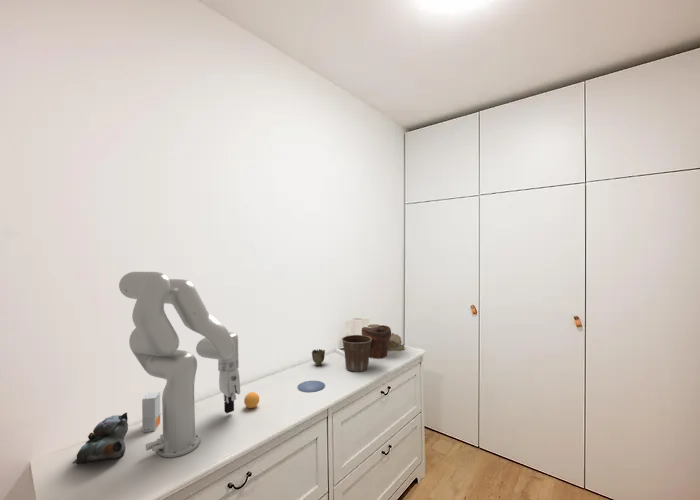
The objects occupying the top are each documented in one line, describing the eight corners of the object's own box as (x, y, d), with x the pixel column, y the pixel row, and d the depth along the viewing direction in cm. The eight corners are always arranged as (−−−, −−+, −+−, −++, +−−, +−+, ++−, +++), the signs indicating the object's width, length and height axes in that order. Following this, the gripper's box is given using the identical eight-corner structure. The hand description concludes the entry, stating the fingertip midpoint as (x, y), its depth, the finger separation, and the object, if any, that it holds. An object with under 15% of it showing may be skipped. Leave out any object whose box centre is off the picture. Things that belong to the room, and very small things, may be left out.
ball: (248, 412, 133) (247, 397, 133) (241, 407, 138) (241, 392, 138) (261, 407, 137) (261, 392, 137) (255, 402, 142) (255, 388, 142)
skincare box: (155, 431, 120) (154, 398, 120) (142, 432, 119) (141, 399, 119) (161, 422, 126) (160, 391, 126) (148, 424, 125) (148, 392, 125)
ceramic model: (381, 350, 213) (380, 334, 213) (384, 345, 223) (383, 330, 223) (403, 351, 209) (403, 335, 209) (405, 346, 220) (404, 331, 220)
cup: (323, 367, 182) (322, 353, 182) (310, 367, 184) (309, 352, 184) (326, 363, 190) (326, 349, 190) (314, 362, 191) (314, 348, 191)
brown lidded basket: (396, 351, 208) (395, 323, 208) (386, 362, 190) (385, 330, 190) (369, 349, 215) (368, 321, 215) (357, 358, 197) (356, 328, 197)
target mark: (307, 394, 148) (307, 394, 148) (292, 386, 158) (292, 385, 158) (330, 386, 157) (330, 386, 157) (314, 378, 167) (314, 378, 167)
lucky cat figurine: (64, 464, 102) (80, 414, 109) (107, 461, 111) (120, 414, 118) (87, 464, 95) (103, 410, 102) (131, 461, 104) (142, 411, 111)
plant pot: (378, 369, 178) (377, 339, 178) (353, 376, 169) (353, 344, 169) (360, 361, 192) (360, 333, 192) (336, 367, 183) (336, 337, 183)
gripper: (245, 367, 128) (246, 414, 128) (230, 358, 139) (230, 402, 139) (226, 372, 123) (227, 422, 123) (211, 362, 134) (212, 408, 134)
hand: (229, 411), depth 131 cm, fingers closed
